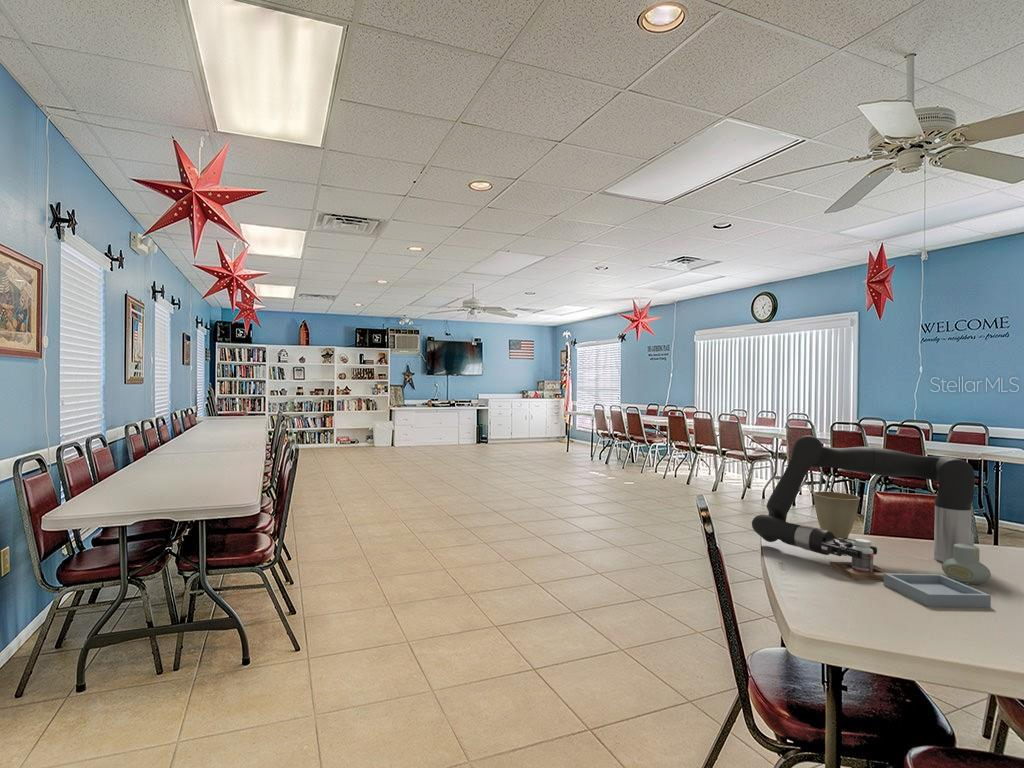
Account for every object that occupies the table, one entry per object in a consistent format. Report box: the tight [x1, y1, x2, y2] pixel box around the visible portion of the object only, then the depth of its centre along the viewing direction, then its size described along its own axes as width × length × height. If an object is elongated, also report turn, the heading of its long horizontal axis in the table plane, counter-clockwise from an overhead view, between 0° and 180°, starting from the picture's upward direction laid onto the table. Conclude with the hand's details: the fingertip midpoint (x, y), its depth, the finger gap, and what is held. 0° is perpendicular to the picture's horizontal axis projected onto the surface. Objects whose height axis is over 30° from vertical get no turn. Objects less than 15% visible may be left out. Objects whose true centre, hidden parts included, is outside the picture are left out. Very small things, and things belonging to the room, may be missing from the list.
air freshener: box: [941, 544, 992, 585], centre depth 159 cm, size 11×8×10 cm
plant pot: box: [812, 490, 861, 539], centre depth 204 cm, size 15×15×16 cm
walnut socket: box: [829, 561, 891, 582], centre depth 164 cm, size 12×12×2 cm
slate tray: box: [883, 572, 992, 608], centre depth 147 cm, size 16×16×3 cm
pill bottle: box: [851, 538, 874, 572], centre depth 164 cm, size 5×5×10 cm
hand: (869, 553), depth 162 cm, fingers open, 8 cm apart
